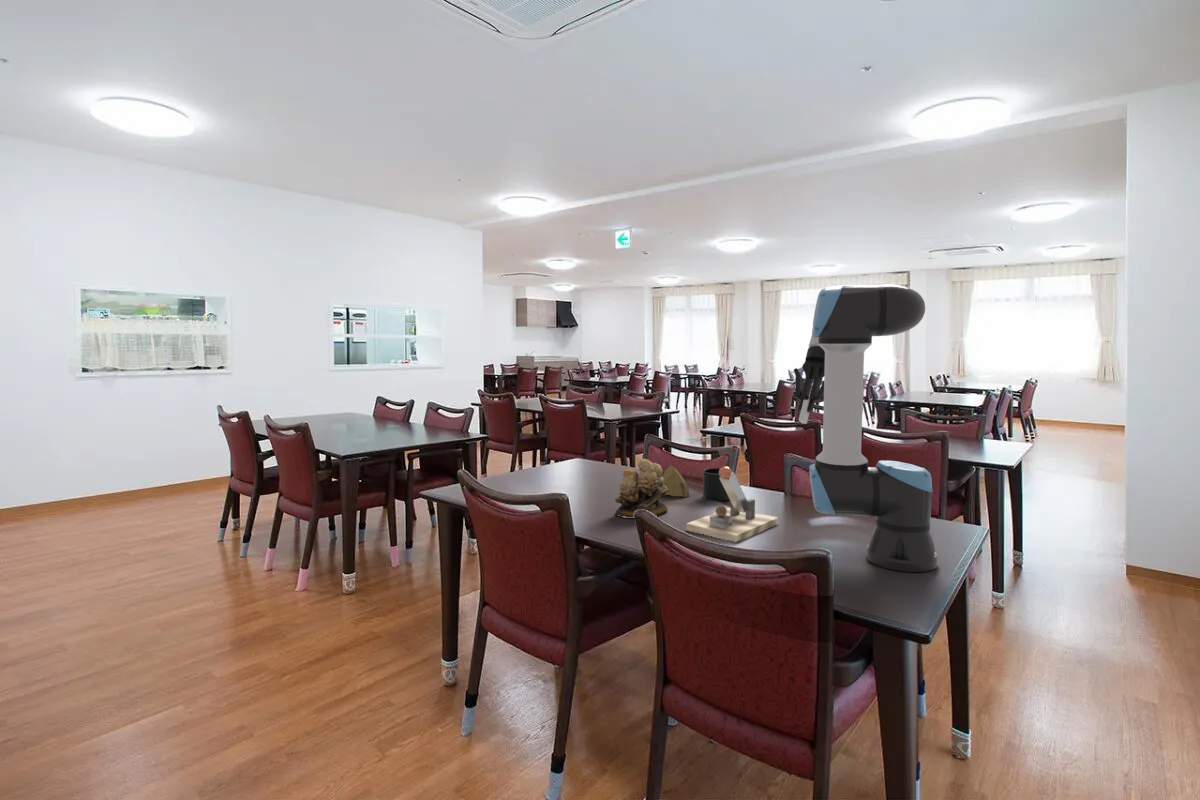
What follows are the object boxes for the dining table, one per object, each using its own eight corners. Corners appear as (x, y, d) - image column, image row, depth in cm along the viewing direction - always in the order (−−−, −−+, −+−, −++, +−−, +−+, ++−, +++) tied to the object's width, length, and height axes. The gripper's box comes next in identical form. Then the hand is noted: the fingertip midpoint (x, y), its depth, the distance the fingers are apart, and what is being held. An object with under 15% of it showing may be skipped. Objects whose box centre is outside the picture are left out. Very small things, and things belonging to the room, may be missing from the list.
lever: (739, 502, 180) (720, 462, 171) (750, 504, 177) (731, 464, 168) (734, 511, 178) (714, 472, 169) (745, 514, 175) (725, 474, 167)
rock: (698, 489, 209) (681, 479, 218) (687, 471, 205) (670, 462, 214) (675, 511, 207) (659, 500, 215) (663, 493, 203) (647, 483, 211)
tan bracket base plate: (729, 513, 188) (730, 489, 187) (778, 524, 176) (778, 498, 176) (686, 530, 172) (686, 504, 171) (736, 543, 161) (736, 515, 160)
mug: (719, 504, 198) (719, 476, 198) (697, 496, 209) (697, 470, 208) (742, 500, 203) (743, 473, 202) (719, 492, 213) (719, 467, 213)
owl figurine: (656, 504, 200) (656, 452, 198) (677, 513, 189) (678, 458, 188) (607, 512, 191) (607, 458, 189) (627, 522, 181) (628, 464, 179)
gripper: (846, 356, 186) (828, 429, 180) (804, 355, 195) (786, 424, 188) (838, 344, 181) (820, 419, 175) (796, 344, 189) (776, 414, 183)
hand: (802, 421), depth 182 cm, fingers closed
